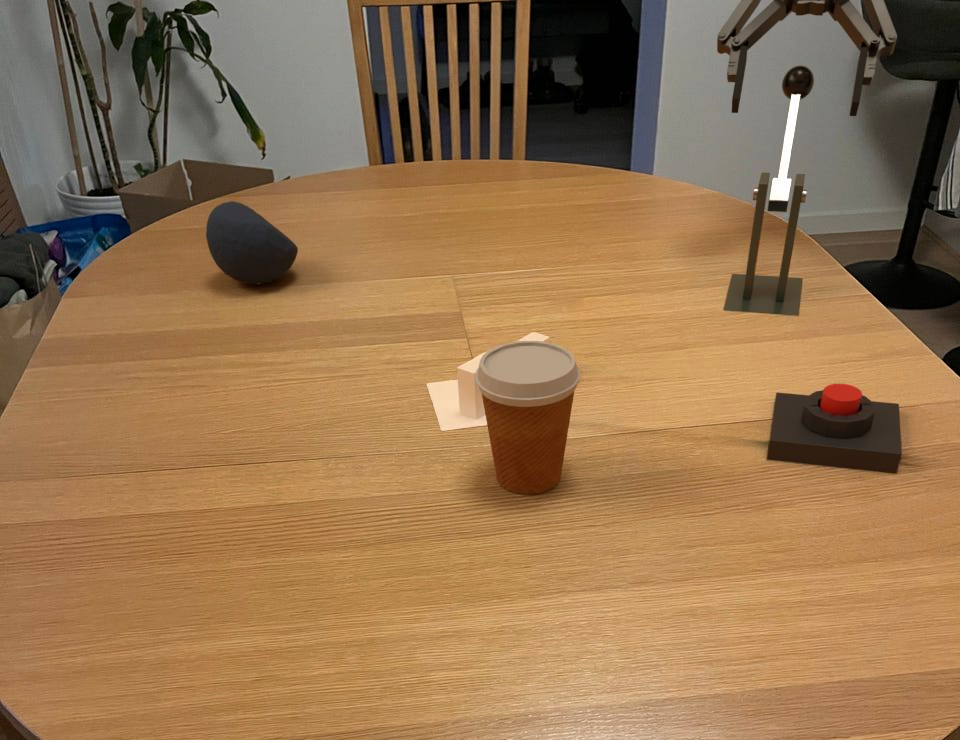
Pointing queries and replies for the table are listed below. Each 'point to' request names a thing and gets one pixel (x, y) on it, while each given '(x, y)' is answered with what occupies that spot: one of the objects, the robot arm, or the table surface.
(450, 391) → the napkin holder
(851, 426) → the button box
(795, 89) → the lever
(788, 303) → the bracket
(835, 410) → the button
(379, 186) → the table surface
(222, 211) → the decorative stone
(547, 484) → the disposable coffee cup
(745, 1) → the robot arm
